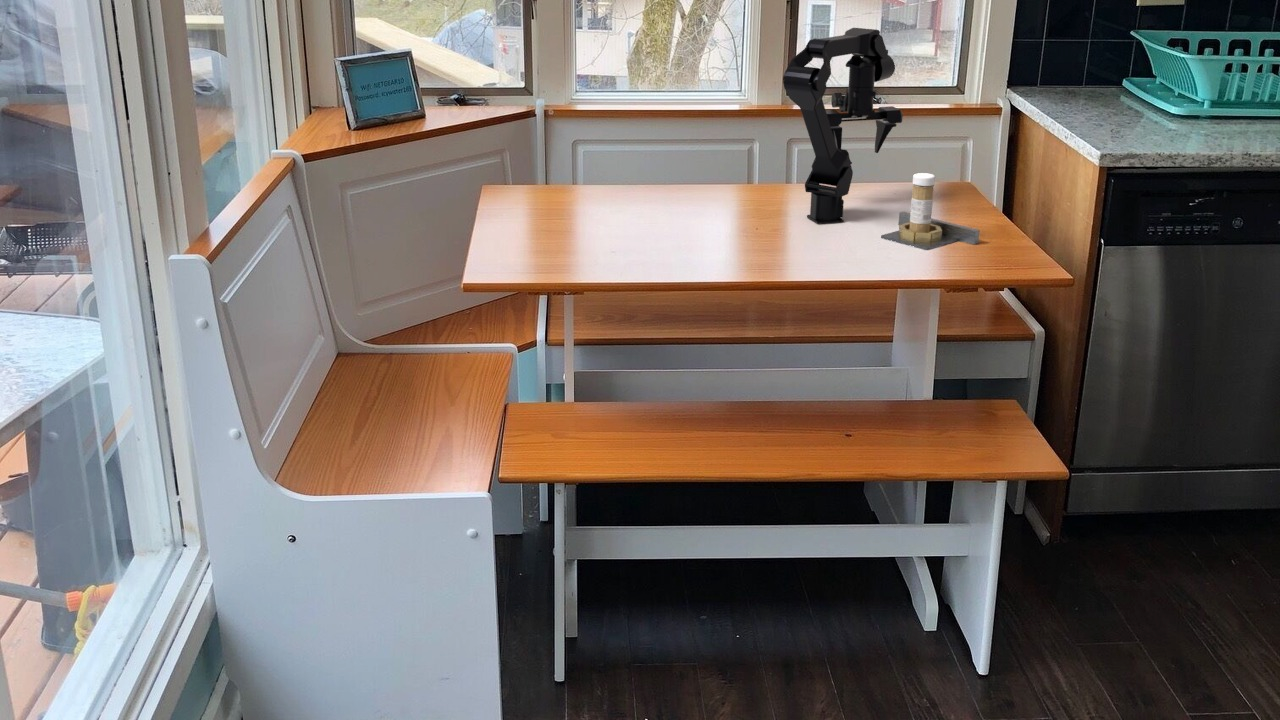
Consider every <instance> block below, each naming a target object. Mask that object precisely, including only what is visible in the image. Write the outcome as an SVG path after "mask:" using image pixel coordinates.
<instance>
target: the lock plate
mask: <svg viewBox="0 0 1280 720" xmlns="http://www.w3.org/2000/svg"><path fill="white" fill-rule="evenodd" d="M898 225H899V226H898ZM898 225H897V226H898V230H896V231H892V232H889V233H884V234H881V236H880V238H881V239H883V238H884V239H883V240H887V239H888V241H891V240H892V241H891V242H894V241H896V243H898V242H899V243H898V244H902V245H906V246H909V245H911V247H913V246H914V247H915V248H918V249H922V250H924V251H927V250H928V251H929V250H931V249H934V248H935V249H936V248H939V247H941V246H946V245H948V244H952V243H956V242H960V243H965V244H968V245H973V246H975V245H977V244H979V240H980V229H978V228H974V227H973V228H972V227H969V226H965V225H961V224H957V223H952V222H949V221H944V220H942V219H941V220H939V219H937V218H933V217H931V222H930V231H929V232H916V231H912V230H909V228H910V212H907V211H900V212H899V213H898ZM914 247H913V248H914Z"/></svg>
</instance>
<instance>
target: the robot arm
mask: <svg viewBox="0 0 1280 720" xmlns="http://www.w3.org/2000/svg"><path fill="white" fill-rule="evenodd" d="M847 55H852V56H851V57H850V58H849V60H848V61H846V63H845V67H846V68H849V70H848V72H849V73H848V88H846V90H845V95H843V94H842V92H833V93H832V94H831V107H832V108H839V109H838V110H839V111H838V110H835V109H826V107H825V104H824V101H823V97H824V95H825V92H826V91H827V82H828V80H829V79H830V76H831V74H832V67H831V61H832V59H833V58H835V57H836V58H837V57H841V56H847ZM813 59H821V60H822V59H823V60H822V61H823V63H822V65H821V67H820V68H818V67H812V66H807V65H808V64H809V63H811V61H813ZM895 70H896V65H895V61H894V58H892V57H891V56H890V55H889V49H887V48H886V45H885V41H884V39H883V36H882V35H881V31H880V30H879V29H876V28H875V29H872V28H861V27H852V28H850V29H847V30H845V32H844V34H843V35H837V36H829V37H823V38H815V37H813V38H812V39H810V40H809V41H808V42H807V43H806V45H805V48H803V50H801V51H800V52H799V53H797V55H795V56H794V57H792V58H791V60H790V62H789V64H788V66H787V68H786V69H785V71H784V73H783V76H782V83H783V87H784V91H785V92H786V95H787V96H788V98H789V99H790V100H791V101H792V102H793V103H794V104H795V105H797V106H798V107H799V109H800V111H801V115H802V118H803V121H804V124H805V128H806V130H807V133H808V136H809V139H810V144H811V146H812V149H813V153H814V156H815V158H814V159H813V162H812V165H811V171H810V173H809V175H808V177H807V179H806V181H805V183H804V189H805V192H806V193H810V194H811V195H810V196H811V197H810V206H809V207H810V210H809V214H807V215H806V218H808V219H809V220H811V221H813V222H814V223H815V224H818V225H821V224H834V223H843V222H844V221H845V220H844V219H843V217H844V202H845V201H844V199H843V197H845V196H847V195H849V192H850V187H851V183H852V179H853V174H854V171H853V168H852V164H853V162H852V161H851V159H850V154H849V153H850V152H848V150H847V149H844V148H843V149H842V140H843V127H842V126H840V125H841V124H842V123H843V122H858V121H860V122H861V121H875V124H876V132H875V140H874V141H875V142H874V153H876V154H878V153H879V152H880V150H881V148H882V146H883V143H885V140H886V139H887V137H888V135H889V134H890V132H891V131H892V129H893V128H895V127H897V124H901V123H903V118H904V117H903V112H902V110H901V109H899V108H897V107H895V106H894V105H893V106H880V107H879V106H878V108H877V111H876V110H875V109H873V108H874V98H875V97H876V95H877V92H876V91H875V83H877V82H880V81H884V80H888V79H889V78H891V77H892V76H893V75H894V73H895Z"/></svg>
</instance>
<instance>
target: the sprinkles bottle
mask: <svg viewBox="0 0 1280 720" xmlns="http://www.w3.org/2000/svg"><path fill="white" fill-rule="evenodd" d="M935 184H936V176H935V175H934V174H932V173H926V172H918V173H915V174H913V176H912V196H911V201H910V202H911V203H910V204H911V205H910V212H909V213H910V228H909V230H912V231H916V232H929V231H930V222H931V218H932V213H933V212H932V211H933V203H934V201H933V200H934V199H933V197H934V186H935Z"/></svg>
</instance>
